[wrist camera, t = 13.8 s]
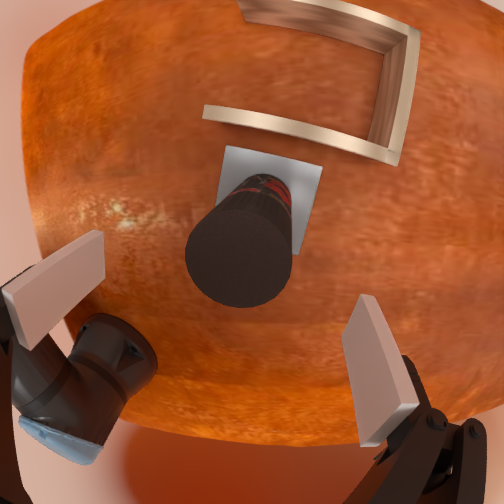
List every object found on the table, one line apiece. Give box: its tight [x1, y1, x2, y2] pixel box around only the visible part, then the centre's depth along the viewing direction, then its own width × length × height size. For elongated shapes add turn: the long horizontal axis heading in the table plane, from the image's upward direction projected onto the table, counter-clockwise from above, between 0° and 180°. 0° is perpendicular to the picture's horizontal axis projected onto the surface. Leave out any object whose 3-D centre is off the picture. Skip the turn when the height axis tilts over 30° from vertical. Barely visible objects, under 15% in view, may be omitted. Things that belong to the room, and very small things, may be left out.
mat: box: [215, 145, 322, 255], centre depth 29 cm, size 10×10×1 cm
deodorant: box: [185, 173, 292, 308], centre depth 22 cm, size 6×6×15 cm
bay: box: [202, 0, 421, 167], centre depth 20 cm, size 16×13×7 cm
